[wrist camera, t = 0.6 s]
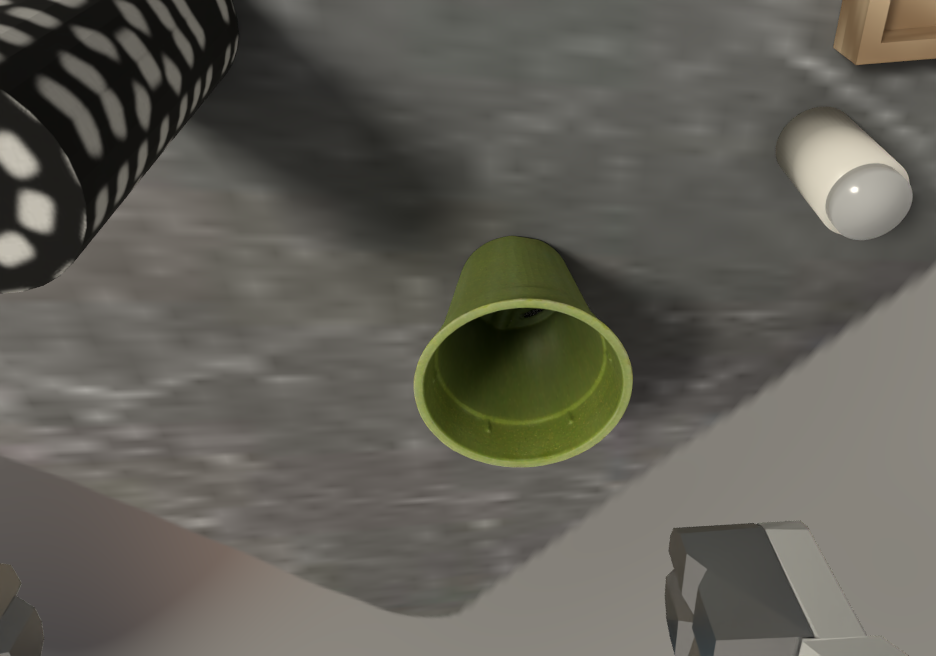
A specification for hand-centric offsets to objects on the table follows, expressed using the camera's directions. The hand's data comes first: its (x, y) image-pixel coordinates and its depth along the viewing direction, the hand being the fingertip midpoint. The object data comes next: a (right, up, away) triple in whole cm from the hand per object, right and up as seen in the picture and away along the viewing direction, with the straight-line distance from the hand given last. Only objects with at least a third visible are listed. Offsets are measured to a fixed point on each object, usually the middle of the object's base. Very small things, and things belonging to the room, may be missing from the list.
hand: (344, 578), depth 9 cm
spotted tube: (-15, +20, +31) cm, 40 cm away
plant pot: (+5, +6, +41) cm, 42 cm away
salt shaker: (+22, +14, +35) cm, 43 cm away
